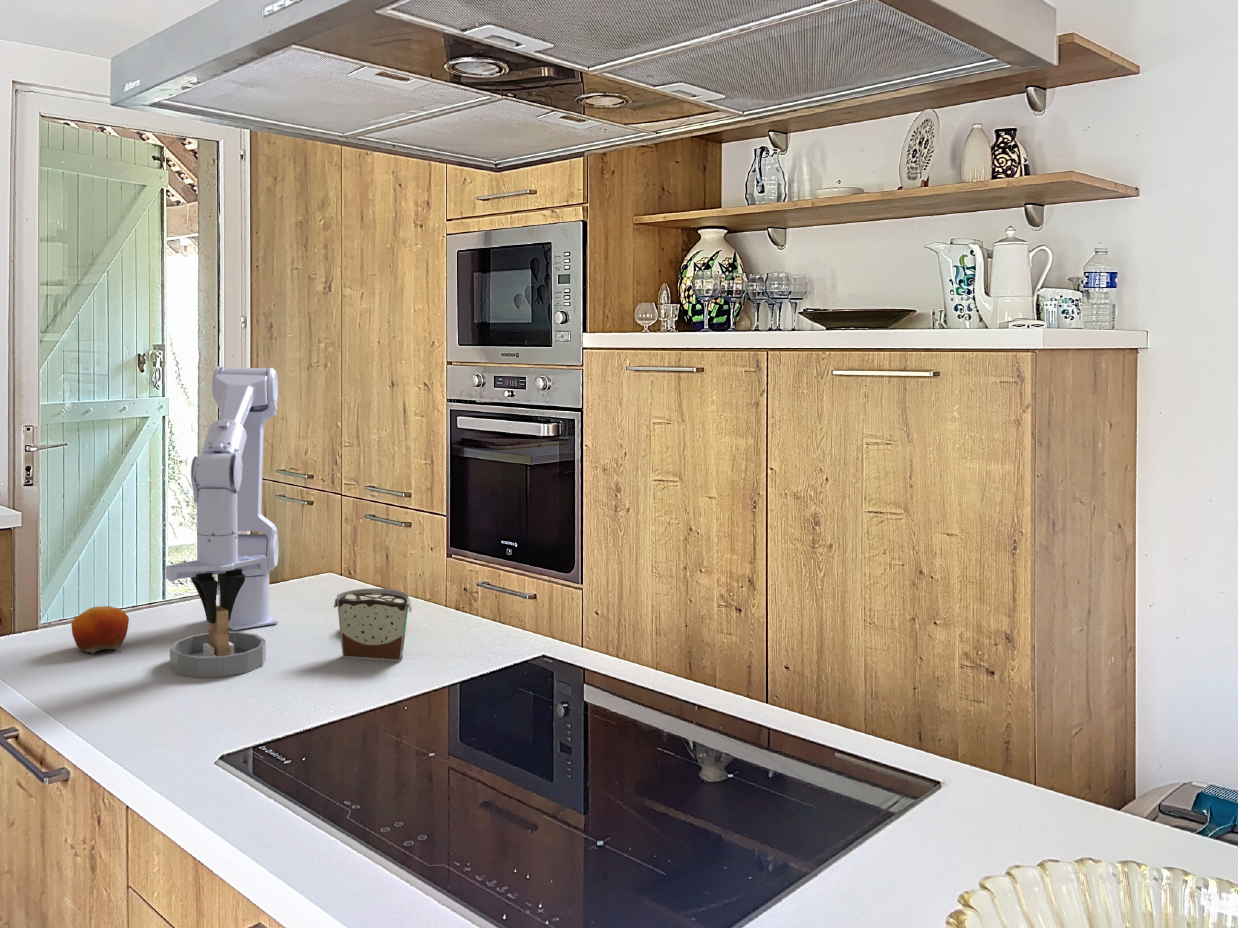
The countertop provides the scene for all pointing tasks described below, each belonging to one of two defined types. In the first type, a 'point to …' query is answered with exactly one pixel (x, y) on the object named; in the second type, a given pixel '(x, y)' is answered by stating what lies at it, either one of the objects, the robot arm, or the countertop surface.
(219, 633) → the tan wooden beam
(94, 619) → the fruit
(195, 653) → the grey faceted hollow container
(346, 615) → the food container
